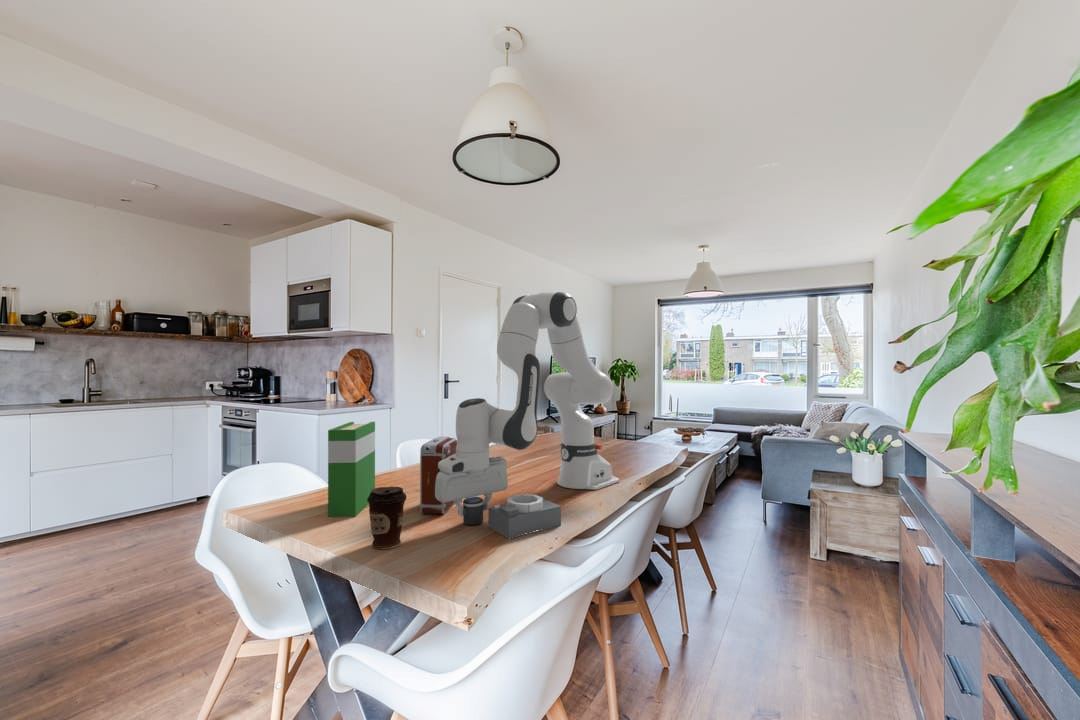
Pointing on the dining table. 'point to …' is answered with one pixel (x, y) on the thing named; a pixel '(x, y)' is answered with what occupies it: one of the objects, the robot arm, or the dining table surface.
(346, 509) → the hardback book
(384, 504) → the coffee cup
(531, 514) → the camera body
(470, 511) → the lens
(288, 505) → the dining table surface
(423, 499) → the cine camera
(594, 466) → the robot arm
